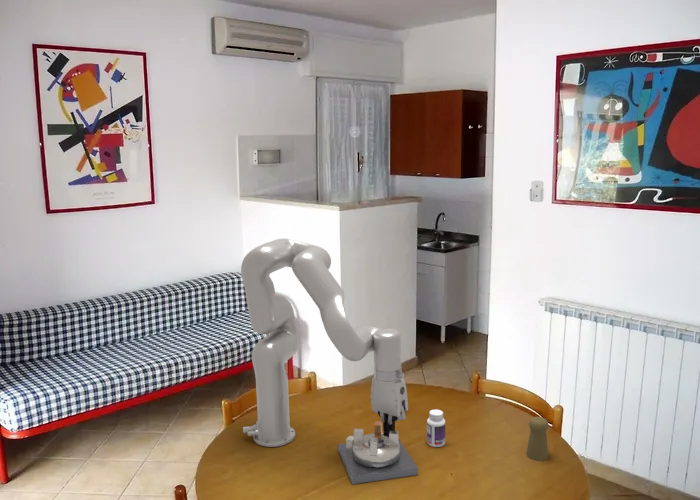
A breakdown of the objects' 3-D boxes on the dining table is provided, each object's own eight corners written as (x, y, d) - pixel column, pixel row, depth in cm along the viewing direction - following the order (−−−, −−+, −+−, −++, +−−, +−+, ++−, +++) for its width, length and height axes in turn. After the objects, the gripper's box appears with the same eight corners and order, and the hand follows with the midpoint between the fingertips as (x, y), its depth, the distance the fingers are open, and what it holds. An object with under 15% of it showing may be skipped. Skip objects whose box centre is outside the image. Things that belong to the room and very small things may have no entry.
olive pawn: (548, 451, 172) (550, 415, 170) (548, 462, 167) (550, 425, 165) (526, 448, 174) (528, 412, 172) (525, 458, 169) (527, 422, 167)
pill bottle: (447, 440, 180) (447, 410, 178) (442, 449, 175) (442, 417, 173) (430, 437, 182) (430, 407, 180) (424, 445, 177) (424, 414, 175)
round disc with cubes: (397, 468, 161) (397, 444, 159) (349, 465, 163) (349, 441, 161) (401, 441, 175) (401, 418, 174) (357, 438, 177) (357, 416, 176)
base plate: (352, 484, 158) (352, 464, 157) (338, 450, 175) (337, 432, 174) (417, 474, 162) (417, 455, 161) (397, 442, 179) (397, 425, 178)
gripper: (418, 375, 166) (418, 437, 169) (374, 363, 175) (376, 423, 178) (402, 383, 160) (403, 448, 163) (358, 371, 169) (360, 432, 173)
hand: (389, 434), depth 171 cm, fingers closed
